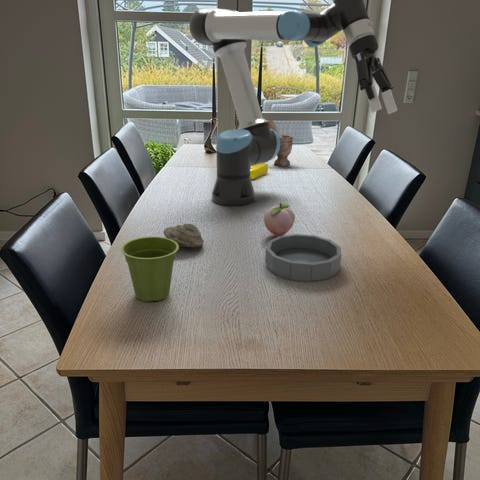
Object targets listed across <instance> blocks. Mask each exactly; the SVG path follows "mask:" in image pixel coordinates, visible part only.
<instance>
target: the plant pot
mask: <svg viewBox="0 0 480 480" xmlns="http://www.w3.org/2000/svg"><path fill="white" fill-rule="evenodd" d="M179 248H180V246H179V245H178V243H177V242H175V241H173V240H172V239H169V238H167V237H162V236H141V237H138V238H133V239H131V240H128V241H125V243H123V244H122V246H121V247H120V252H121V254H122V255H124V258H125V262H126V263H127V267H128V270H129V275H130V279H131V283H132V286H133V290H134V291H133V292H134V294H135V297H136V298H137V299H138V300H140V301H142V302H159V301H162V300H164V299H166V298H167V297H168V296H169V294H170V291H171V283H172V275H173V268H174V263H175V262H174V261H175V260H176V256H177V252H178V251H179Z"/></svg>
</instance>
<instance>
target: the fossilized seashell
mask: <svg viewBox="0 0 480 480" xmlns="http://www.w3.org/2000/svg"><path fill="white" fill-rule="evenodd" d="M163 234H164V236H165V238H169V239H172V240H173V241H175V242H177V243H178V245H179V247H184V248H199V247H203V246H204V243H205V241H204V239H203V237H202V233H201V231H200V229H199V228H198V227H197V226H196V225H194V224H193V223H183V224H182V225H181V224H177V225H175V226H174V227H173V226H170V227H167V228H165V229H164V230H163Z"/></svg>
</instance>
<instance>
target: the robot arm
mask: <svg viewBox="0 0 480 480" xmlns="http://www.w3.org/2000/svg"><path fill="white" fill-rule="evenodd" d="M367 11H368V10H367V9H366V5H365V2H364V0H332V4H330V5H329V6H328V7H327V8H325V9H324V10H322V11H321V12H312V11H304V10H300V9H291V10H290V9H289V10H286V11H284V10H283V11H281V10H279V11H278V10H276V11H274V10H273V11H243V12H242V11H241V12H239V11H238V10H235V9H231V8H217V7H209V6H208V7H200V8H197V10H195V11H194V12H193V13H192V14H191V17H190V19H189V24H188V25H189V26H188V28H189V32H190V35H191V37H192V38H193V39H194V41H195V42H197V43H198V44H200V45H203V46H211V47H212V49H213V52H214V55H215V56H216V57H217V58H219V59H220V61H221V65H222V68H223V71H224V75H225V79H226V81H227V86H228V89H229V92H230V95H231V98H232V102H233V107H234V109H235V113H236V117H237V120H238V123H239V127H238V128H236V129H229V130H225V131H222V132H220V133H219V134H218V135H217V137H216V144H215V149H216V179H215V183H214V186H213V189H212V192H211V200H212V202H214V203H216V204H219V205H223V206H233V207H234V206H235V207H236V206H245V205H249V204H252V203H254V202H255V200H256V192H255V189H254V186H253V185H254V184H253V183H252V180H251V178H250V173H251V166H253V165H257V164H260V163H268V162H269V161H272V160H273V159H275V158H276V157H277V154H278V152H279V149H280V139H279V136H278V134H277V132H275V131H274V130H273V129H270V126H269V122H268V121H269V120H267V119H265V118H264V117H263V114H262V111H261V107H260V104H259V100H258V96H257V92H256V90H255V86H254V82H253V79H252V74H251V71H250V67H249V64H248V60H247V57H246V54H245V49H246V47H247V40H257V41H258V40H259V41H261V40H263V41H264V40H265V41H291V42H296V41H297V42H298V41H302V42H303V41H304V44H305V45H307V46H309V47H310V48H317V47H318V46H320V45H323V44H324V43H325V42H326V41H328V40H329V39H331V38H332V37H335V36H336V35H337V34H338V33H340V32H342V31H343V34H344V37H345V40H346V43H347V45H348V46H349V47H348V48H349V51H350V55H351V58H352V59H353V60H355V65H356V71H357V79H358V84H359V89H360V91H363V90H364V94H365V96H366V99H367V102H368V105H369V107H370V112H371V113H372V114H373V113H375V112H378V111H380V110H382V109H383V107H382V104H381V102H380V101H381V100H380V98H379V95H378V93H377V88H376V87H375V85H373V79H374V82H375V83H376V84H377V86H378V88H379V89H380V91H381V97H382V100H383V102H384V106H385V109H386V113H387V114H388V115H391V114H393V113H395V112H397V111H398V107H397V105H396V102H395V99H394V95H393V92H392V90H393V89H394V86H393V84H392V83H391V81H390V79H389V78H388V75H387V73H386V72H385V69H384V67H383V64H382V62H381V60H380V59H381V58H379V56H378V57H376V56H375V55H374V54H375V52H377V51H378V49H379V44H378V41H377V38H376V36H375V35H374V32H375V31H374V29H373V27H372V26H373V21H370V17H369V14H368V12H367Z"/></svg>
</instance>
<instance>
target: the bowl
mask: <svg viewBox="0 0 480 480" xmlns="http://www.w3.org/2000/svg"><path fill="white" fill-rule="evenodd" d="M264 261H265V264H266V265H265V266H266V268H267V269H268V270H269V272H271V273H272V274H274V275H276V276H277V277H280V278H283V279H285V280H290V281H294V282H302V283H303V282H304V283H305V282H306V283H311V282H321V281H325V280H329V279H331V278H333V277H335V276H336V275H337V274H338V273H339V272H340V269H341V262H342V247H341V246H340V245H338V244H337V243H336V242H334V241H333V240H331V239H329V238H325V237H321V236H318V235H313V234H304V233H303V234H300V233H295V234H287V235H286V234H284V235H282V236H276V237H275V238H273V239H270V240H269V241H267V245H266V248H265V258H264Z"/></svg>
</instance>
